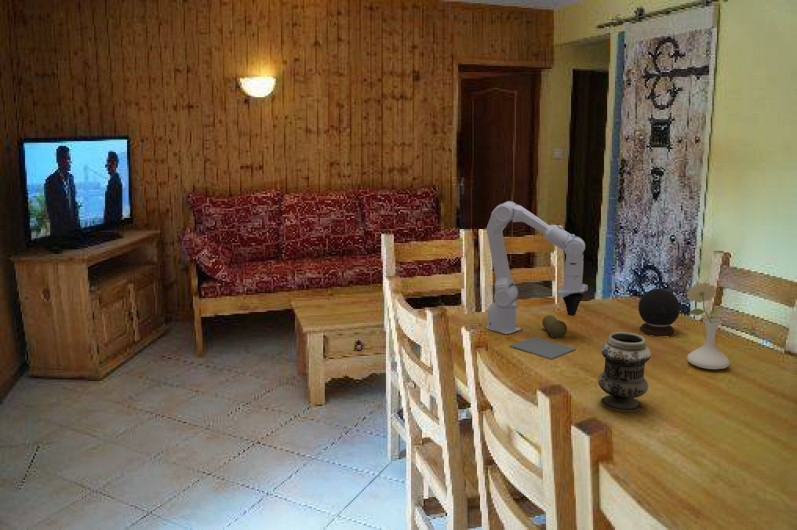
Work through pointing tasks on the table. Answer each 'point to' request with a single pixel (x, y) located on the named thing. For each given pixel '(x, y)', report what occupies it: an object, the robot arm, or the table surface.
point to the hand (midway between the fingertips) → (571, 315)
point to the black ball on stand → (658, 312)
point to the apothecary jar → (624, 371)
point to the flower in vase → (707, 331)
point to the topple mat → (542, 348)
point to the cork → (554, 326)
